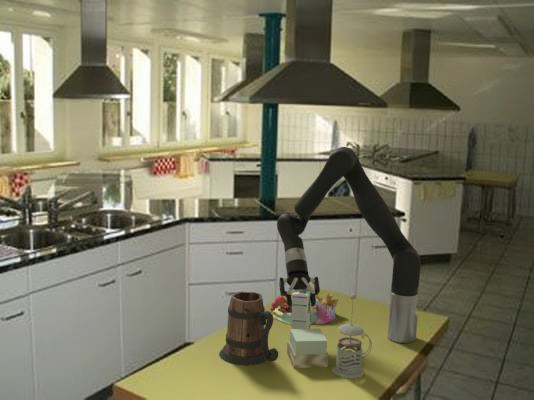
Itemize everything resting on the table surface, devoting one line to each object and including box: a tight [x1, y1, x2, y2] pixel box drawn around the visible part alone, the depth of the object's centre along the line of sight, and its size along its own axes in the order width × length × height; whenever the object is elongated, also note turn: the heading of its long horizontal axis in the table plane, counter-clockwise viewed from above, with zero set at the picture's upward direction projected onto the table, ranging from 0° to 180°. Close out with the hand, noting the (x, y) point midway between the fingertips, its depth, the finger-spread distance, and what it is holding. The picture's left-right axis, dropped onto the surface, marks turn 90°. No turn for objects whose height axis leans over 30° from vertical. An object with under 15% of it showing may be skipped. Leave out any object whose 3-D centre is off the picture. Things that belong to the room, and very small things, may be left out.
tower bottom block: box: [286, 340, 329, 369], centre depth 188 cm, size 11×11×4 cm
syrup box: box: [290, 289, 311, 329], centre depth 199 cm, size 6×6×14 cm
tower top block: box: [289, 328, 328, 355], centre depth 187 cm, size 10×10×4 cm
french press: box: [332, 293, 373, 379], centre depth 179 cm, size 10×12×25 cm
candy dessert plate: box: [269, 293, 339, 326], centre depth 228 cm, size 25×24×9 cm
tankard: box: [218, 291, 279, 367], centre depth 187 cm, size 24×17×20 cm
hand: (302, 305), depth 197 cm, fingers closed on syrup box, 7 cm apart
